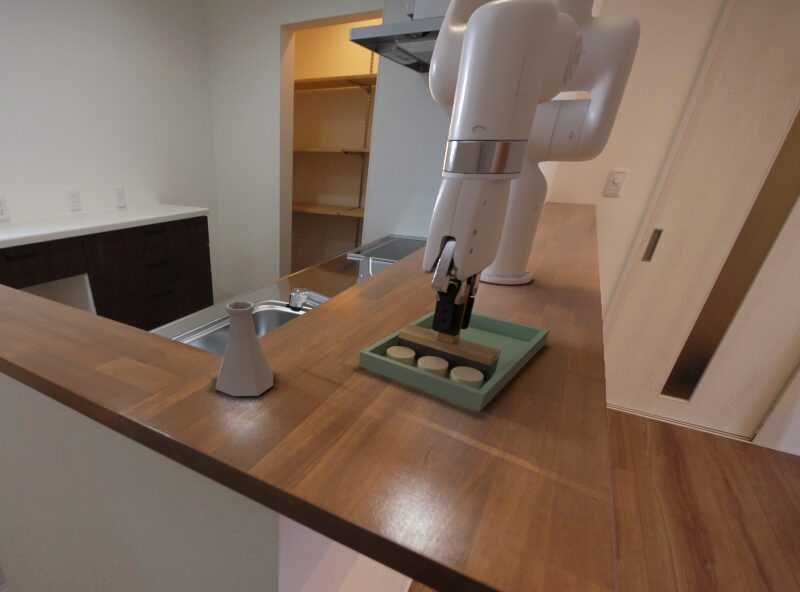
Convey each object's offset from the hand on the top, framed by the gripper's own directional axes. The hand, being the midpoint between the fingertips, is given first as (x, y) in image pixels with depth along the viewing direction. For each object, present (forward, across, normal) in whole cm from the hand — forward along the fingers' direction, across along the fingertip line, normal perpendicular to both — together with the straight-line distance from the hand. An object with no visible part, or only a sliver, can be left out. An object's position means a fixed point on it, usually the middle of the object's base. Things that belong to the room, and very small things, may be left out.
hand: (450, 328), depth 52 cm
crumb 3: (+5, +3, +4) cm, 7 cm away
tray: (+6, -4, 0) cm, 7 cm away
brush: (+5, 0, 0) cm, 5 cm away
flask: (+6, +20, -16) cm, 26 cm away
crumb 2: (+5, +3, 0) cm, 6 cm away
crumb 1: (+5, +3, -4) cm, 7 cm away
